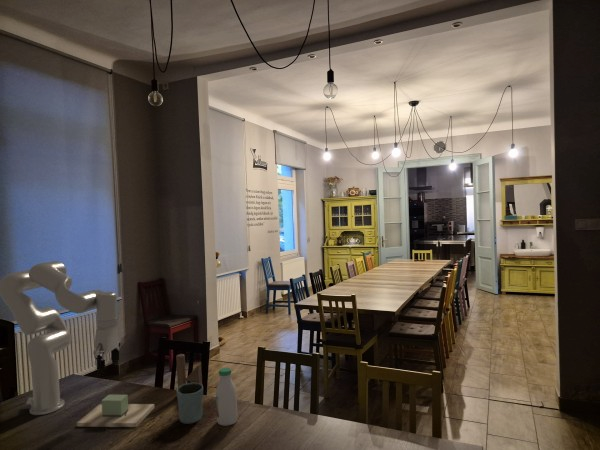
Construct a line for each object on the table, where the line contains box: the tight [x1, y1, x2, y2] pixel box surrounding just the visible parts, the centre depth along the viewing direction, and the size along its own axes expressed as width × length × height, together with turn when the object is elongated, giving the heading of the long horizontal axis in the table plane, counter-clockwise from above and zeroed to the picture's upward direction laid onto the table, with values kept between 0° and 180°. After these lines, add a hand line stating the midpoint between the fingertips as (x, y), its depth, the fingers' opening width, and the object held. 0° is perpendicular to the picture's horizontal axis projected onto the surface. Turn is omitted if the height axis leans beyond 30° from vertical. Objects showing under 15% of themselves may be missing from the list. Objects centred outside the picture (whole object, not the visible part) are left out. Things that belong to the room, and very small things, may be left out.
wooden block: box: [175, 353, 203, 393], centre depth 177 cm, size 4×11×18 cm, turn 81°
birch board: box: [76, 403, 155, 428], centre depth 162 cm, size 24×15×2 cm, turn 84°
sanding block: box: [101, 394, 129, 417], centre depth 161 cm, size 8×5×6 cm, turn 84°
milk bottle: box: [215, 367, 239, 427], centre depth 154 cm, size 8×8×20 cm
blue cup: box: [176, 382, 204, 425], centre depth 158 cm, size 10×10×12 cm
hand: (108, 364), depth 164 cm, fingers open, 9 cm apart
